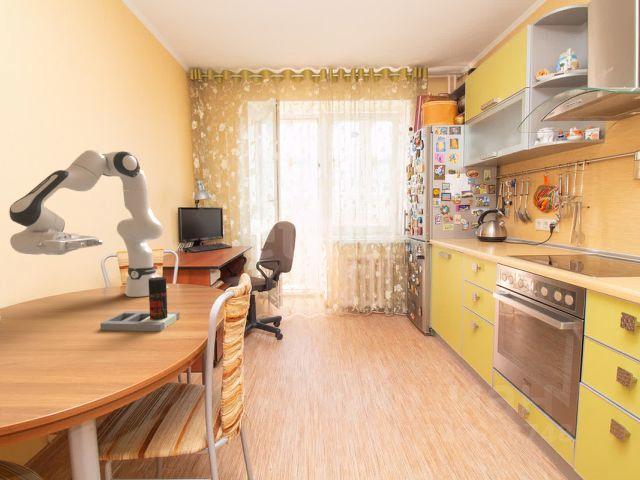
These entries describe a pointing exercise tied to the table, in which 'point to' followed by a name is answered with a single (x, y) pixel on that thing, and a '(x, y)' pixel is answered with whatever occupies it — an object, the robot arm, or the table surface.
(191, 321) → the table surface
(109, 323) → the board
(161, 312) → the deodorant
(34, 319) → the table surface
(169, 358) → the table surface
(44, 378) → the table surface
